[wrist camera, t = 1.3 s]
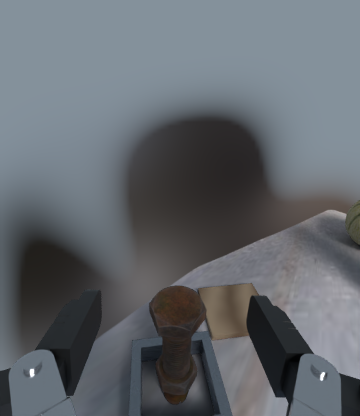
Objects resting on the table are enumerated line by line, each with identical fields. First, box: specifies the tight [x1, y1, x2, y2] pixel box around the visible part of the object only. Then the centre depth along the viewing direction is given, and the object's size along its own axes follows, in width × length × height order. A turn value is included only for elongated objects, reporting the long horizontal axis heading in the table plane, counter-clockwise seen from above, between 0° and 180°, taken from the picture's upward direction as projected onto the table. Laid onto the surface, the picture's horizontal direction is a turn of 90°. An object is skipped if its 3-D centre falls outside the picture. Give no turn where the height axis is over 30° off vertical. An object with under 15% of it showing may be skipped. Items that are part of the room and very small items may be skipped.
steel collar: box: [129, 331, 232, 416], centre depth 28 cm, size 11×11×3 cm
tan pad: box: [198, 283, 259, 340], centre depth 40 cm, size 11×10×1 cm
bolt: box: [149, 286, 207, 404], centre depth 25 cm, size 6×5×15 cm
